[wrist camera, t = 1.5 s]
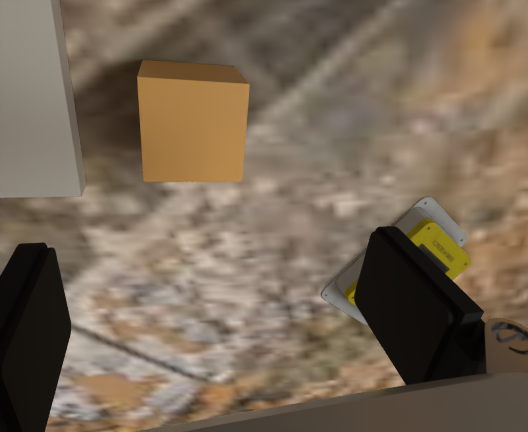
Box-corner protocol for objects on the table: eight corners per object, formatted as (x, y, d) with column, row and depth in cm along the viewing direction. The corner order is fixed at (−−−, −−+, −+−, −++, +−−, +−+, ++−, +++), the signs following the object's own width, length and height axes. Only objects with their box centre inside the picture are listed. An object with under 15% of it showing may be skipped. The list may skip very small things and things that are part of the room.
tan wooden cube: (142, 59, 24) (137, 77, 19) (233, 66, 26) (249, 84, 21) (147, 147, 27) (143, 181, 22) (228, 148, 29) (241, 181, 24)
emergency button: (496, 259, 37) (384, 352, 41) (466, 235, 41) (365, 323, 44) (453, 212, 32) (331, 321, 36) (424, 189, 36) (315, 291, 40)
